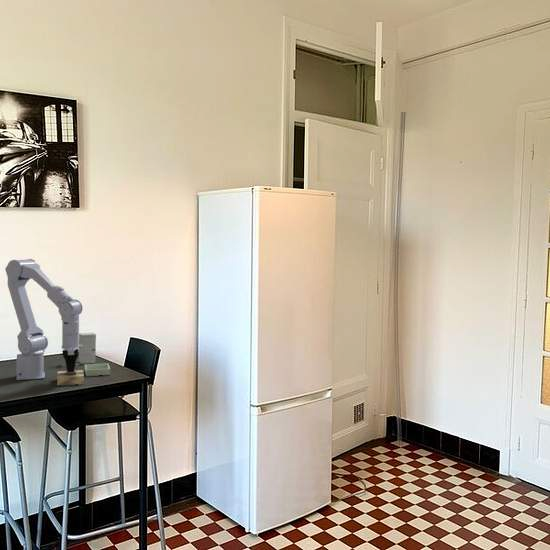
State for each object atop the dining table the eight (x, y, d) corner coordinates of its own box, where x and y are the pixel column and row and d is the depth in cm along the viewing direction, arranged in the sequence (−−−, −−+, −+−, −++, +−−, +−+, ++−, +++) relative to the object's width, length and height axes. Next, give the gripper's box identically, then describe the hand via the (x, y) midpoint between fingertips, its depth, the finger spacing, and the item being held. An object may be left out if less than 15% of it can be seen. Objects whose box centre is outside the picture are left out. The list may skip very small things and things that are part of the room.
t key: (61, 383, 212) (61, 365, 212) (61, 381, 215) (61, 363, 214) (79, 382, 214) (79, 364, 214) (79, 380, 217) (79, 363, 216)
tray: (85, 376, 222) (85, 369, 222) (84, 370, 231) (84, 364, 231) (110, 375, 226) (110, 368, 225) (108, 369, 234) (108, 363, 234)
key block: (57, 385, 209) (57, 377, 209) (57, 379, 217) (57, 371, 217) (83, 384, 212) (83, 375, 212) (83, 377, 220) (83, 370, 220)
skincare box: (81, 364, 241) (81, 335, 240) (78, 362, 245) (78, 333, 244) (96, 362, 245) (96, 334, 244) (93, 360, 249) (93, 332, 248)
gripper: (82, 336, 208) (82, 374, 209) (81, 329, 221) (81, 365, 222) (61, 337, 205) (61, 375, 206) (61, 330, 219) (61, 366, 220)
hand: (70, 370), depth 214 cm, fingers open, 3 cm apart
